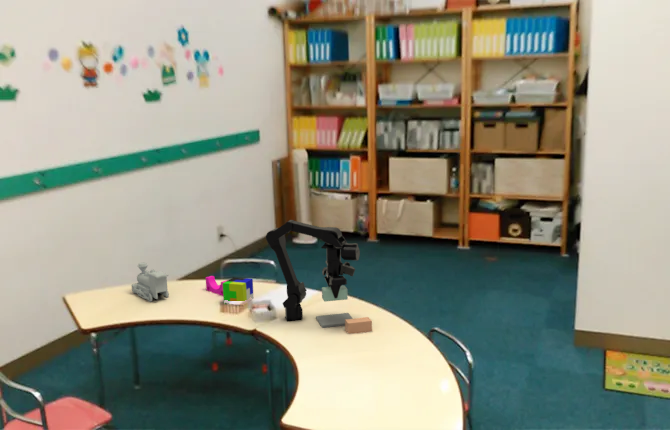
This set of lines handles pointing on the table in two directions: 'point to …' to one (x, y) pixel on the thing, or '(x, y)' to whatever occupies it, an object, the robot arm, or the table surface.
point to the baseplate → (333, 320)
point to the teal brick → (329, 296)
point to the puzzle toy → (238, 289)
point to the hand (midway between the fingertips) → (334, 296)
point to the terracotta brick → (358, 325)
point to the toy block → (214, 285)
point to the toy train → (150, 283)
